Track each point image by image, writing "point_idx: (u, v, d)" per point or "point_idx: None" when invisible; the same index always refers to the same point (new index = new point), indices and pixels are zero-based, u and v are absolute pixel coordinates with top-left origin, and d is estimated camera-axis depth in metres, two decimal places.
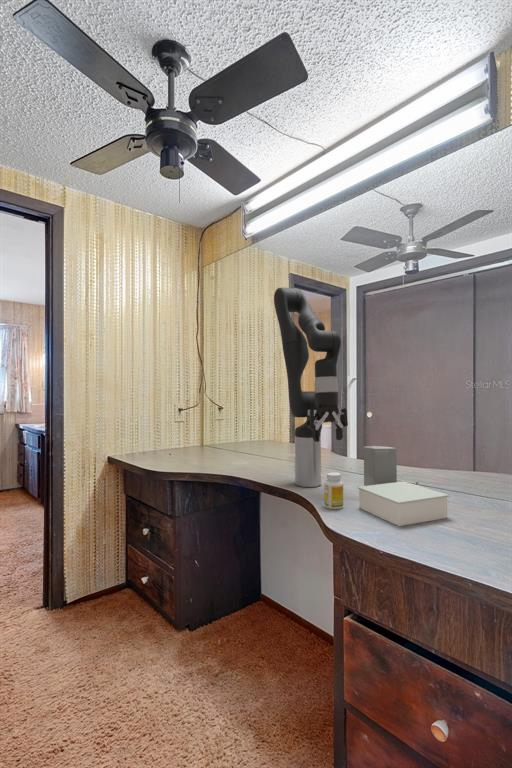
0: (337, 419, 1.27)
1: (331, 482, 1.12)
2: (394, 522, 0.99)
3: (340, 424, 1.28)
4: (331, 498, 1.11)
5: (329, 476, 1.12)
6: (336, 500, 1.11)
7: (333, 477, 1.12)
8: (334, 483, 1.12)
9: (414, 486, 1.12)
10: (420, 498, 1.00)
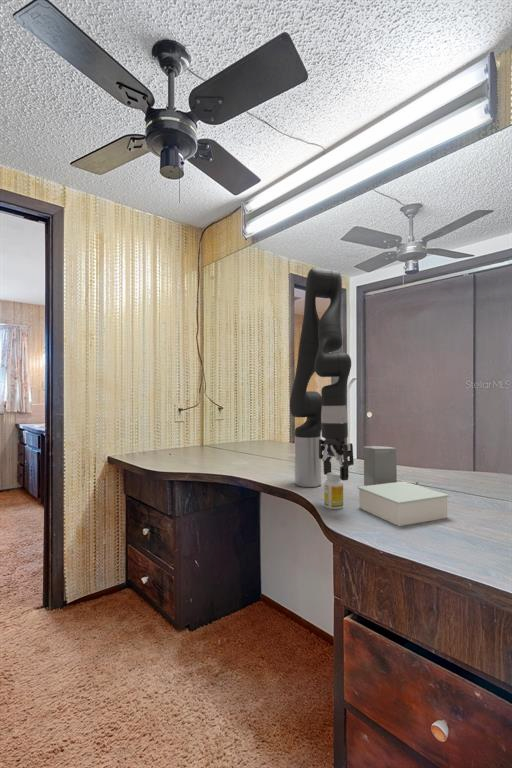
0: None
1: (331, 482, 1.12)
2: (394, 522, 0.99)
3: None
4: (331, 498, 1.11)
5: (329, 476, 1.12)
6: (336, 500, 1.11)
7: (333, 477, 1.12)
8: (334, 483, 1.12)
9: (414, 486, 1.12)
10: (420, 498, 1.00)
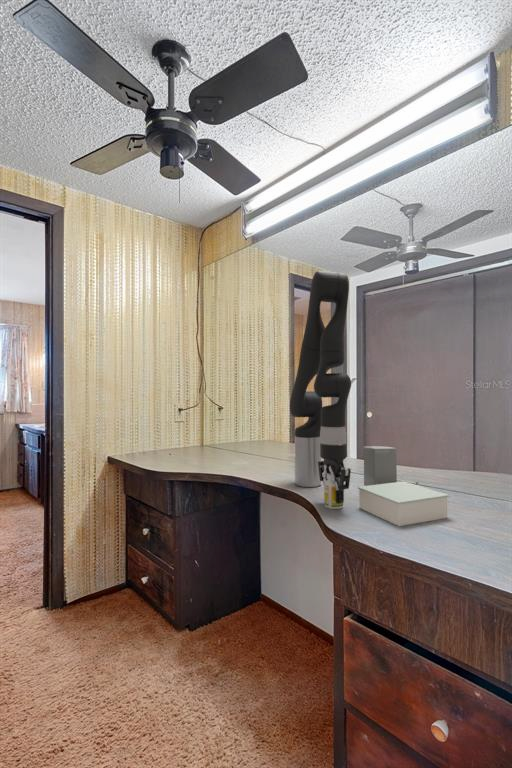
0: None
1: (331, 482, 1.12)
2: (394, 522, 0.99)
3: None
4: (331, 498, 1.11)
5: (329, 476, 1.12)
6: None
7: None
8: None
9: (414, 486, 1.12)
10: (420, 498, 1.00)
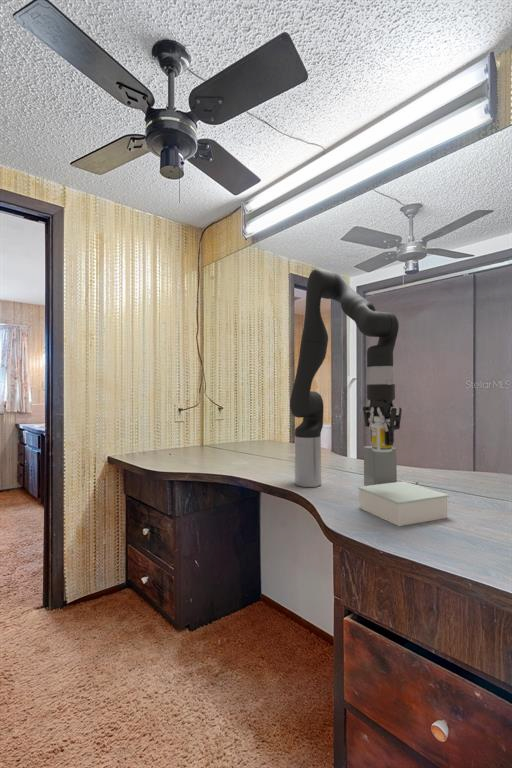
0: None
1: (379, 424, 1.07)
2: (394, 522, 0.99)
3: None
4: (380, 441, 1.07)
5: (377, 418, 1.08)
6: None
7: None
8: None
9: (414, 486, 1.12)
10: (420, 498, 1.00)
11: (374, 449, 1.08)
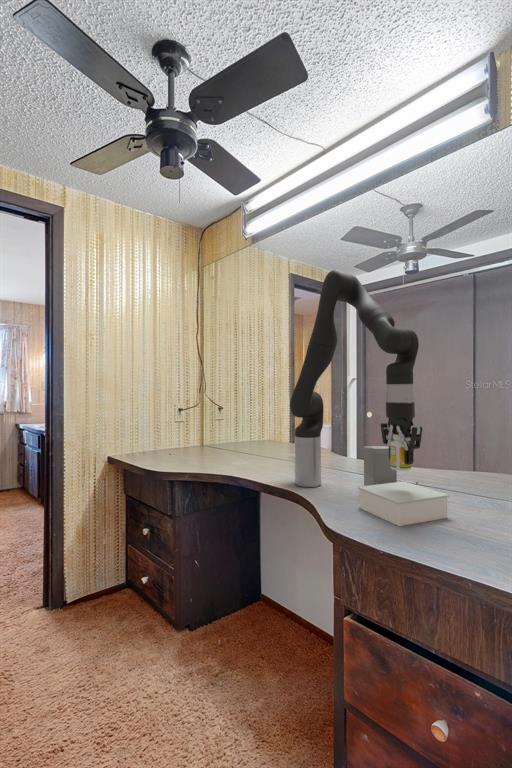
0: None
1: (399, 443, 1.06)
2: (394, 522, 0.99)
3: None
4: (399, 459, 1.05)
5: (396, 436, 1.07)
6: None
7: None
8: None
9: (414, 486, 1.12)
10: (420, 498, 1.00)
11: (393, 467, 1.07)
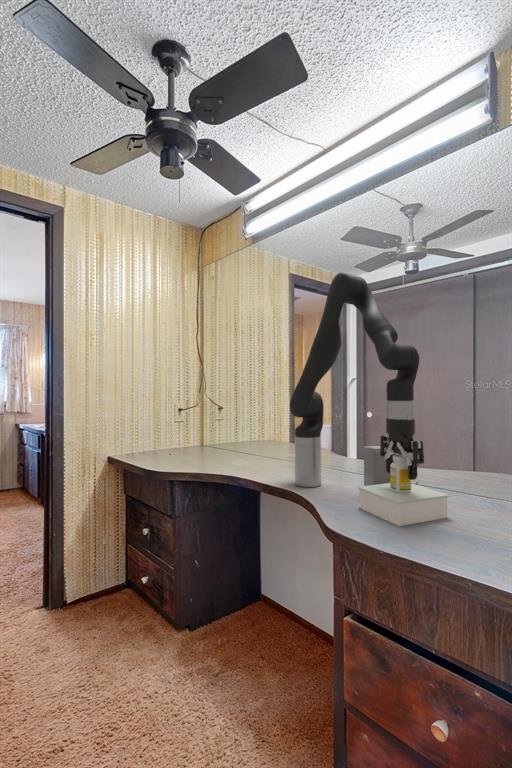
0: None
1: (399, 465, 1.06)
2: (394, 522, 0.99)
3: None
4: (399, 481, 1.05)
5: (396, 458, 1.07)
6: (405, 483, 1.05)
7: (401, 459, 1.06)
8: (402, 465, 1.06)
9: (414, 486, 1.12)
10: (420, 498, 1.00)
11: (393, 489, 1.07)
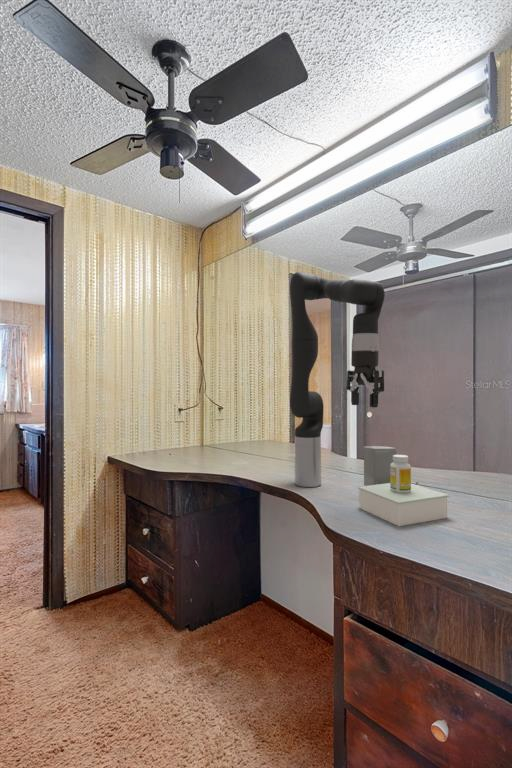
0: None
1: (399, 465, 1.06)
2: (394, 522, 0.99)
3: None
4: (399, 481, 1.05)
5: (396, 458, 1.07)
6: (404, 483, 1.05)
7: (401, 459, 1.06)
8: (402, 465, 1.06)
9: (414, 486, 1.12)
10: (420, 498, 1.00)
11: (393, 489, 1.07)
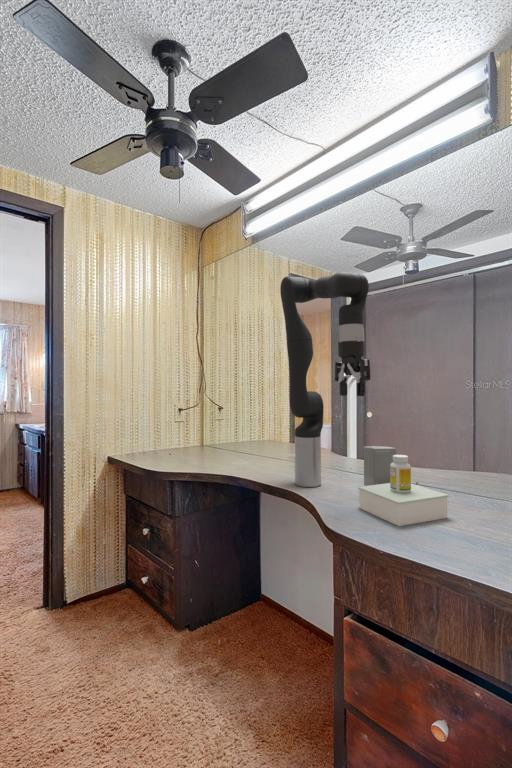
0: None
1: (399, 465, 1.06)
2: (394, 522, 0.99)
3: None
4: (399, 481, 1.05)
5: (396, 458, 1.07)
6: (404, 483, 1.05)
7: (401, 459, 1.06)
8: (402, 465, 1.06)
9: (414, 486, 1.12)
10: (420, 498, 1.00)
11: (393, 489, 1.07)
